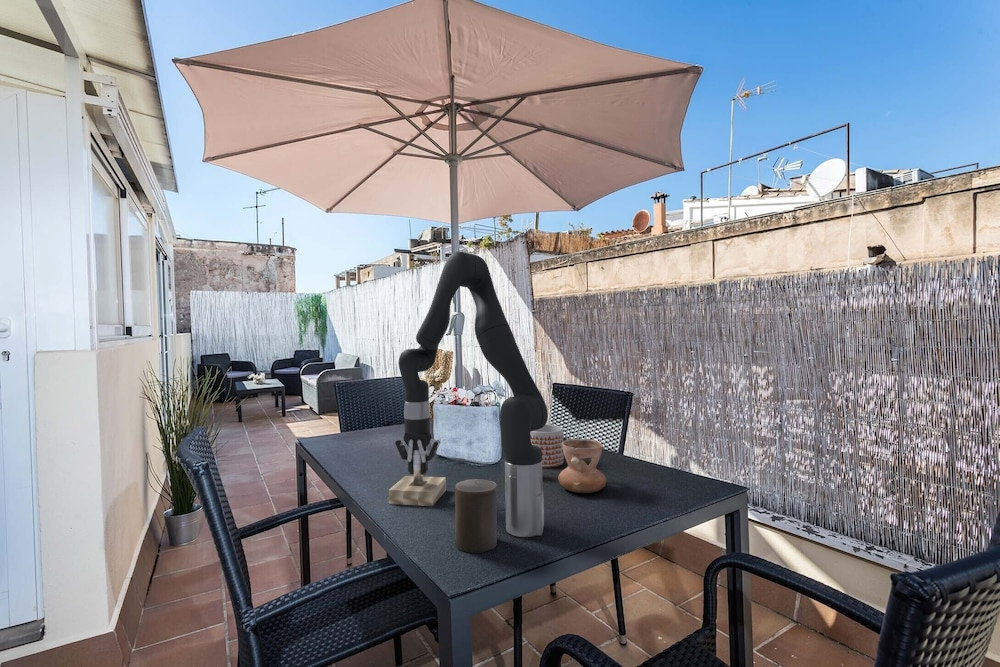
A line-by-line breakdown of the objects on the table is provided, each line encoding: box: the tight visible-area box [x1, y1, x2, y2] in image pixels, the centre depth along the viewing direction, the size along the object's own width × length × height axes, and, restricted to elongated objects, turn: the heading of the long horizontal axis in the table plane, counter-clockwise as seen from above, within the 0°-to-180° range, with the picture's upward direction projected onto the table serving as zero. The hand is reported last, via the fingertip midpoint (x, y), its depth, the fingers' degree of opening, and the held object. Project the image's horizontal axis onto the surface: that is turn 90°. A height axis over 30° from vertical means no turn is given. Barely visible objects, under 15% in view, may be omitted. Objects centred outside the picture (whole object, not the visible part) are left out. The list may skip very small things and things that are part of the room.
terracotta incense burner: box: [557, 438, 607, 494], centre depth 147 cm, size 18×14×14 cm
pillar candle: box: [454, 478, 498, 554], centre depth 111 cm, size 10×10×15 cm
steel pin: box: [412, 450, 424, 484], centre depth 142 cm, size 3×3×10 cm
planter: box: [530, 423, 565, 469], centre depth 175 cm, size 14×14×13 cm
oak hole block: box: [388, 475, 447, 507], centre depth 142 cm, size 13×13×4 cm
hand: (418, 473), depth 142 cm, fingers closed on steel pin, 3 cm apart
